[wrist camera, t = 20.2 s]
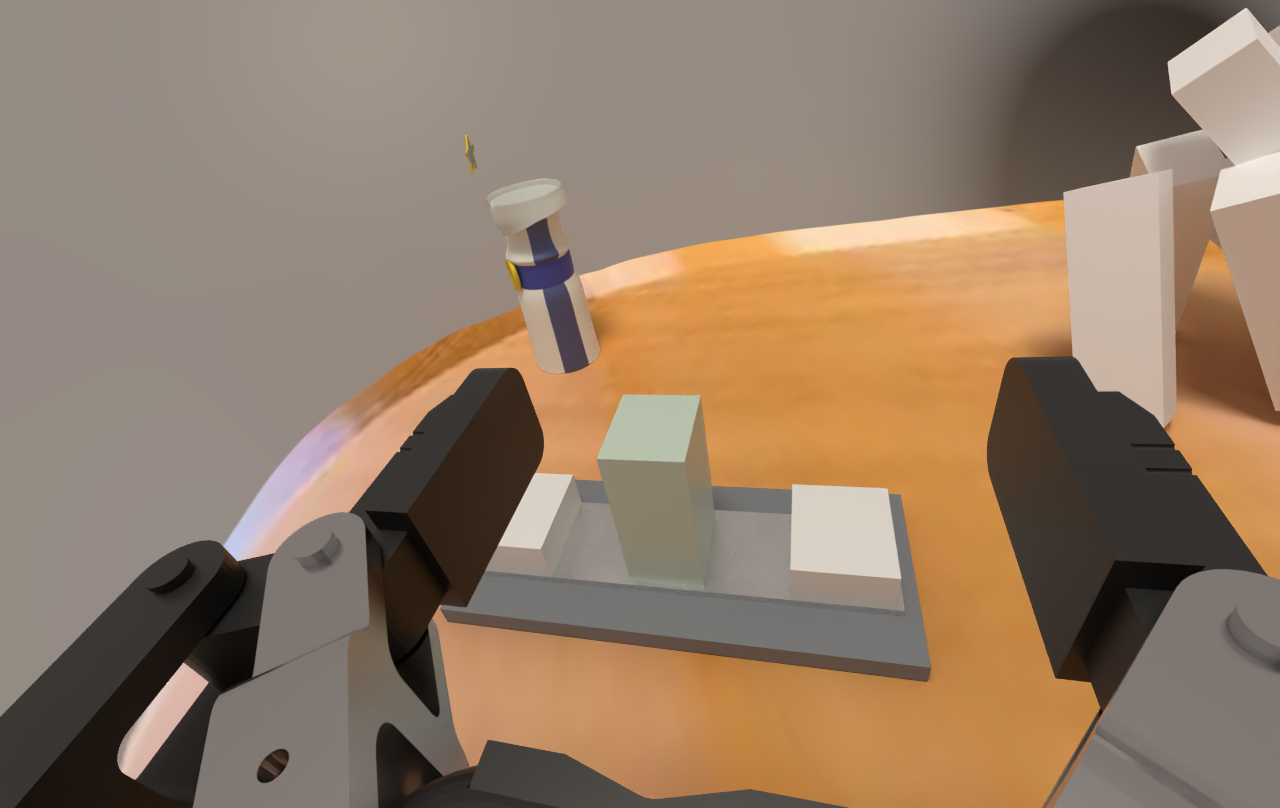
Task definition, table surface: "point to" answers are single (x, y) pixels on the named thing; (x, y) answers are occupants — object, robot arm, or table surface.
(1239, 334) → the table surface
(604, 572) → the mounting plate
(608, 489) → the tall block
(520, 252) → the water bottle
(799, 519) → the rectangular blocks
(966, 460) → the table surface
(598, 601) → the grey board
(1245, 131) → the white angular blocks
